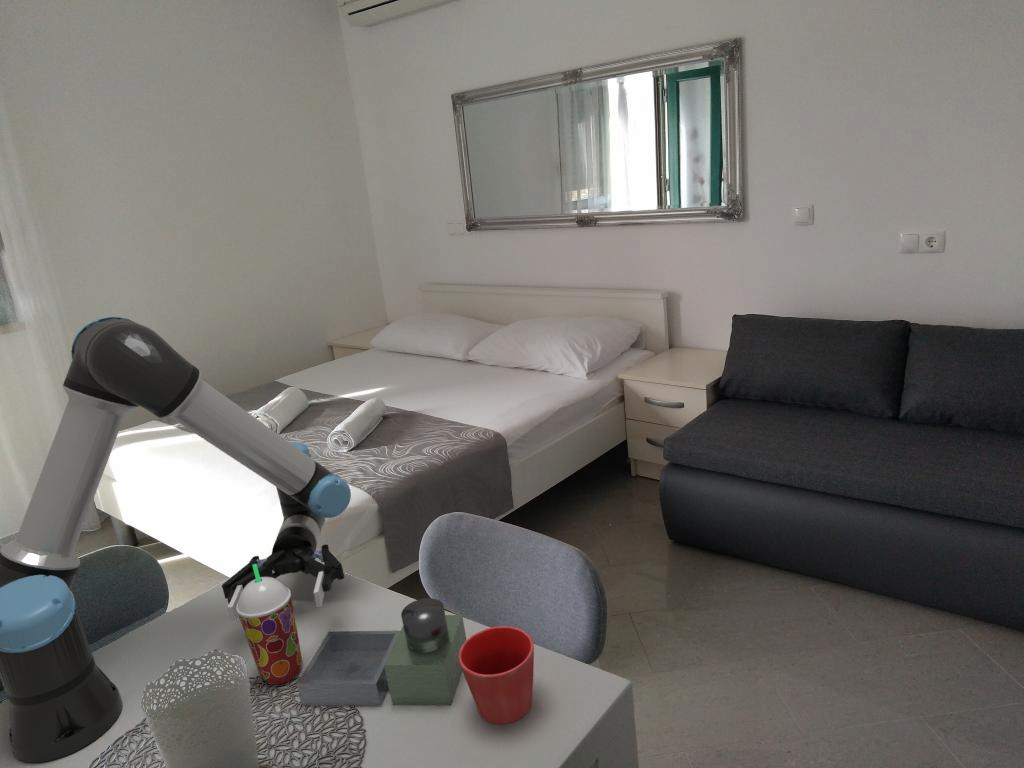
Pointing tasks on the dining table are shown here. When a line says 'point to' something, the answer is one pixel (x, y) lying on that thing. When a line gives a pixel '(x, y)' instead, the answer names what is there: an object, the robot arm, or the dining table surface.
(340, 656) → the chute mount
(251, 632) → the smoothie
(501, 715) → the flower pot
